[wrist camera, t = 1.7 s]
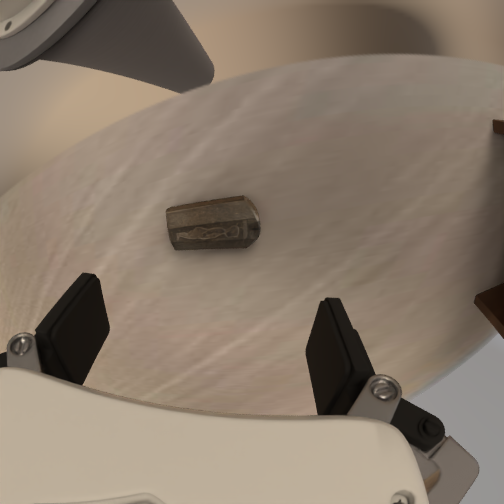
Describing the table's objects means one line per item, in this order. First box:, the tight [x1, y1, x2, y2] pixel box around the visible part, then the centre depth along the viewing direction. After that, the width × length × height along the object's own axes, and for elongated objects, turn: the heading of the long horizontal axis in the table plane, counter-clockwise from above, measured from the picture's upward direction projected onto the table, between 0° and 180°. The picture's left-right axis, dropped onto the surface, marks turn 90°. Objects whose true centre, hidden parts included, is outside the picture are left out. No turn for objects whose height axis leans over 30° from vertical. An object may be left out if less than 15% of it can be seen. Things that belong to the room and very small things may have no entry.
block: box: [166, 196, 260, 250], centre depth 18 cm, size 4×6×2 cm, turn 95°
